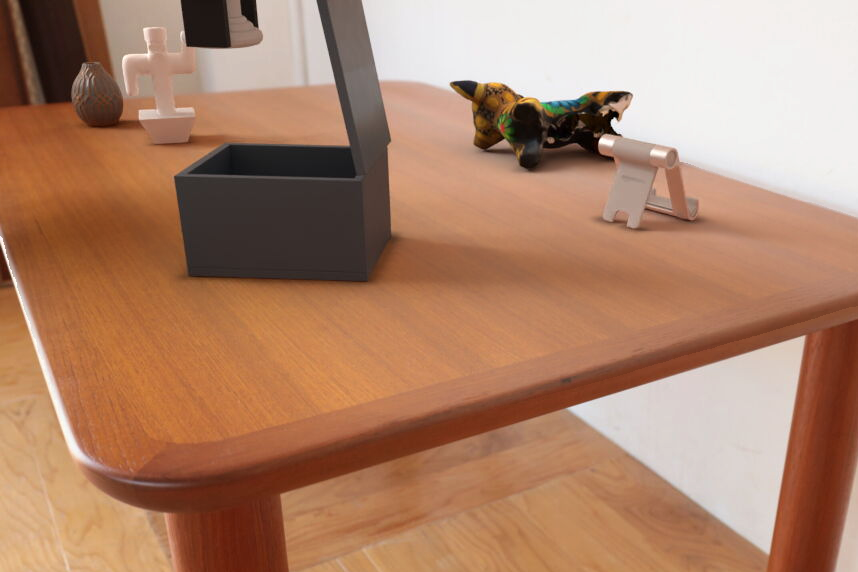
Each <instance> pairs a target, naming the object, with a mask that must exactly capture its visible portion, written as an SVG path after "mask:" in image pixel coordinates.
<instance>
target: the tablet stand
mask: <svg viewBox="0 0 858 572" xmlns="http://www.w3.org/2000/svg"><path fill="white" fill-rule="evenodd" d="M598 149H599V152H600V153H601V154H600V155H602V156H605V155H607V156H611V157H614V158H613V160H614V165H615V167H616V172H615V176H614V179H613V182H612V185H611V188H610V192H609V195H608V198H607V200H606V204H605V207H604V211H603V213H602V219H603V220H604V221H606V222H610V223H613V222H614V220H615V218H616V216H617V214H618V213H619V212H622V213H624V214H627V215H628V219H627V223H626V227H627V228H630V229H634V230H637V229H638V228H639V227H640V225H641V223H642V219H643V216H644V213H645V210H646V209H647V210H650V211H654V212H657V213H663V214H666V215H670V216H674V217H677V218H678V219H682V220H687V221H688V220H689V221H694V220H695V219H696V218H697V216H698V215H699V211H700V199H699V198H696V197H692V196H688V195H686V188H685V183H684V177H683V174H682V173H683V172H682V167H681V162H680V157H679V152H678V150H677V148H675V147H671V146H667V145H661V144H656V143H651V142H647V141H642V140H638V139H633V138H628V137H624V136H623V137H619V136H615V135H610V134H604V135H603V136H602V137H601V138H600V140H599V144H598ZM659 168H660V169H663V170H664V174H665V179H666V182H667V188H668V194H669V198H667V197H664V196H660V195H658V194H657V188H656V187H653V186H654V183H655V180H656V177H657V173H658V171H659Z"/></svg>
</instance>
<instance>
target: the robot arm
mask: <svg viewBox="0 0 858 572" xmlns="http://www.w3.org/2000/svg"><path fill="white" fill-rule="evenodd" d="M240 5H241V15H243V16H245V17H246V19H247V21H250V22H251V23H252V24H253V26H254V27H257V28H259V29H260V27H259V18H258V17H259V16H258V15H259V14H258V5H257V0H240ZM180 7H181V15H182V16H181V17H182V23H183V24H182V25H183V31H184V32H185V40H186V47H194V48H197V47H207V48H206V49H208V48H229V47H231V39H230V30H229V20H228V11H227V2H226V0H180Z"/></svg>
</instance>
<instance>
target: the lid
mask: <svg viewBox="0 0 858 572" xmlns="http://www.w3.org/2000/svg"><path fill="white" fill-rule="evenodd" d="M315 1H316V5H317V9H318V14H319V18H320V22H321V26H322V27H321V28H322V31H323V35H324V40H325V45H326V48H327V49H326V50H327V53H328V57H329V61H330V62H329V63H330V66H331V70H332V73H333V74H332V75H333V79H334V83H335V88H336V92H337V96H338V101H339V105H340V110H341V113H342V118H343V122H344V126H345V130H346V135H347V139H348V144H349V146H350V148H351V153H352V157H353V161H354V165H355V170H356V174H357V176H360V175H366V174H367V173H368V171H369V170H370V169H371V167H372V166H373V165H374V163H375V162H376V161H377V159H378V158H379V157H380V155H381V154H382V153H383V151H384V150H385V149H386V147H388V146H389V145H390V144H391V142H392V138H391V133H390V128H389V123H388V118H387V113H386V109H385V104H384V99H383V95H382V90H381V84H380V80H379V75H378V71H377V66H376V61H375V57H374V52H373V47H372V42H371V37H370V33H369V28H368V24H367V19H366V14H365V9H364V5H363V0H315Z"/></svg>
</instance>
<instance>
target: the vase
mask: <svg viewBox="0 0 858 572" xmlns="http://www.w3.org/2000/svg"><path fill="white" fill-rule="evenodd" d="M70 96H71V103H72V106H73V109H74V111H75V113H76V115H77V117H78V118H79V119H80V120H81V121H82V122H83V123H84V124H86V125H87V126H89V127H108V126H112V125H113V126H114V125H116V124H117V123H118V121H119V120H120V119H121V117H122V116H123V112H124V97H123V93H122V90H121V88H120V86H119V84H118V83H117V81H116V80H115V79H114V78H113V76H112V75H110V74H109V73H108V71H106V70H105V68H104V67H103V66H102V63H101V62H99V61H89V62H88V61H87V62H82V64H81V68H80V70H79V73H77V76H76V77H75V79H74V81H73V83H72V87H71V95H70Z"/></svg>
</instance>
